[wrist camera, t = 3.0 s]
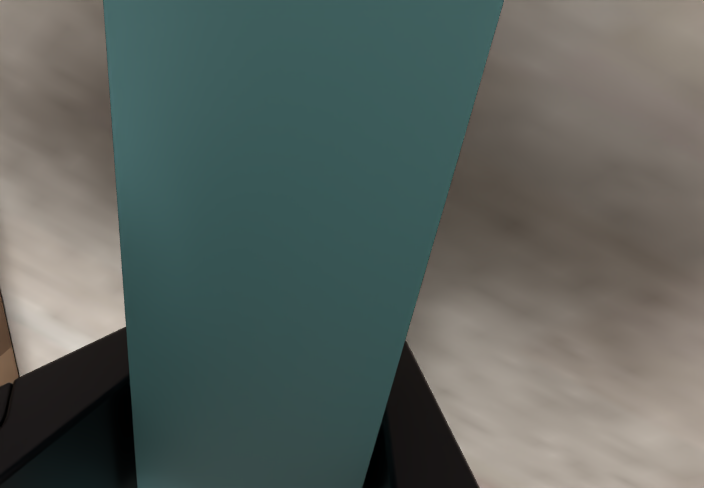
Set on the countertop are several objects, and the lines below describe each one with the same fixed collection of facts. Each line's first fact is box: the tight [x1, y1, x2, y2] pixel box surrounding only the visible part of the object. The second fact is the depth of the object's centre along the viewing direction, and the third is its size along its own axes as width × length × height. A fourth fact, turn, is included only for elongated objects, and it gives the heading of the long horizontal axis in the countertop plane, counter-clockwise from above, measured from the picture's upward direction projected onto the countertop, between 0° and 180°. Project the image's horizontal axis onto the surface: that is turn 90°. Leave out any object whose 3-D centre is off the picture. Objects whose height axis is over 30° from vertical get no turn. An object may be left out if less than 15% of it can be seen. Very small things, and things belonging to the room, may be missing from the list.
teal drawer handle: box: [103, 0, 504, 488], centre depth 9 cm, size 14×3×7 cm, turn 170°
